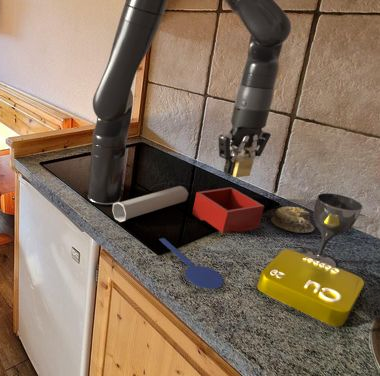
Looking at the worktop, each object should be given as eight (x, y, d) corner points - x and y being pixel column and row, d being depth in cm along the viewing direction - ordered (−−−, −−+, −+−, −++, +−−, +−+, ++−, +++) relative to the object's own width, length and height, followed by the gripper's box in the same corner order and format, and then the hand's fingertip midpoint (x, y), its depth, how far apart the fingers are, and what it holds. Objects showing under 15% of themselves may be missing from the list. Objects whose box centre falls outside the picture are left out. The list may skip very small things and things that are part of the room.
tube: (176, 183, 119) (111, 201, 107) (191, 184, 114) (124, 203, 102) (178, 200, 120) (113, 220, 108) (192, 202, 115) (127, 223, 103)
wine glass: (303, 246, 97) (323, 190, 91) (342, 260, 92) (366, 202, 86) (292, 259, 92) (313, 200, 86) (333, 275, 87) (357, 214, 81)
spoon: (147, 243, 96) (147, 240, 96) (174, 238, 99) (174, 235, 98) (200, 295, 80) (201, 291, 80) (231, 287, 82) (231, 284, 82)
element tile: (359, 295, 81) (368, 276, 79) (338, 333, 72) (348, 312, 70) (279, 262, 91) (285, 244, 89) (252, 291, 81) (258, 272, 79)
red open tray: (192, 213, 110) (196, 192, 108) (226, 208, 114) (231, 187, 111) (221, 235, 101) (227, 212, 98) (258, 228, 104) (264, 205, 101)
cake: (269, 230, 105) (273, 211, 103) (271, 214, 113) (274, 196, 111) (315, 237, 100) (319, 218, 98) (313, 221, 108) (317, 202, 106)
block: (222, 171, 102) (226, 154, 100) (236, 169, 103) (240, 152, 101) (235, 177, 98) (239, 160, 96) (249, 175, 100) (254, 159, 98)
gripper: (263, 99, 99) (247, 164, 106) (216, 103, 95) (202, 170, 102) (289, 107, 92) (270, 175, 100) (239, 111, 88) (223, 182, 95)
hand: (235, 172), depth 101 cm, fingers closed on block, 4 cm apart
